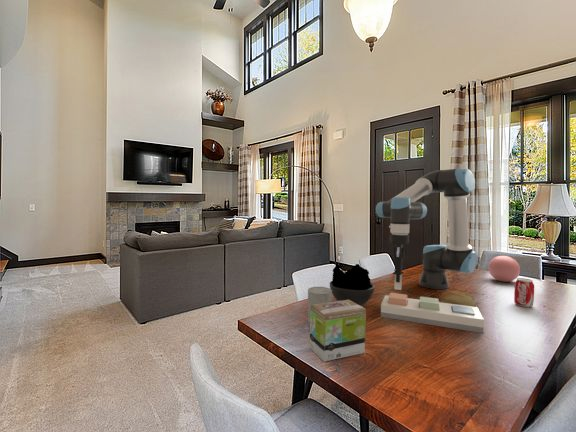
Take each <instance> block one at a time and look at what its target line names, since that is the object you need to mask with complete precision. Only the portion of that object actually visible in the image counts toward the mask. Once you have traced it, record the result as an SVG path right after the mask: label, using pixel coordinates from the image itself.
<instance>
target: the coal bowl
mask: <svg viewBox="0 0 576 432" xmlns="http://www.w3.org/2000/svg"><path fill="white" fill-rule="evenodd" d="M351 267H352V268H350V269H348V270H347V271H343V269H341V267H340V264H339V263H336V265H335V267H333V269H332V280H331V281H330V282H329V289H331V290H332V293H331V295H332V296H333V297H334V299H335V300H336V301H342V300H351V301H352V302H354V303H356V304H358V305H360V306H363V305H365V304H366V303H368V302H369V301H370V300H371V298H372V296H373V295H374V291H375V286H376V285H375V284H374V283H373V282H371V280H372V279H371V278H370V277H369V275H370V272H369V270H368V269H366V268H364V267H362V266H361V265H360V264H359V263H357V264H356V263H355V265H354V266H351Z"/></svg>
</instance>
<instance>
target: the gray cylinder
mask: <svg viewBox="0 0 576 432" xmlns="http://www.w3.org/2000/svg"><path fill="white" fill-rule="evenodd" d="M327 302H332V290H331V289H330V287H325V286H312V287H309V288H308V289H307V322H308V323H310V315H311V305H312V304H320V303H327Z"/></svg>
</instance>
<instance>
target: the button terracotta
mask: <svg viewBox="0 0 576 432" xmlns="http://www.w3.org/2000/svg"><path fill="white" fill-rule="evenodd" d="M388 296H389V298H388V303H389V304H396V305H403V306H407V298H408V294H406V293H405V294H404V293H396V292H389V295H388Z"/></svg>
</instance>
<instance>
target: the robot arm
mask: <svg viewBox="0 0 576 432" xmlns="http://www.w3.org/2000/svg"><path fill="white" fill-rule="evenodd" d="M475 184H476V181H475V177H474V174H473V172H472V171H471V170H470V169H469V168H452V169H439V170H437V169H436V170H434V171H431V172H429V173H427V174H425V175H423V176H421V177H419V178H418V179H416V181H415V182H414V184H412V185H411V186H409V187H407V188H406V189H404V190H403V191H402V192H400V193H399V194H397V195H396V196H394V197H392V198H390V199H388V201H380V202H378V203H377V204H376V205H375V213H376V215H377V217H379V218H384V219H386V218H387V219H390V225H389V226H388V228H389V229H390V232H389V233H390V235H389V243H390V244H395V246H393V252H394V253H393V258H394V272H392V274H393V275H394V282H393V283H394V286H393V287H394V288H393V289H394V290H398V291H402V282H403V281H402V279H403V274H404V271H403V259H404V252H405V247H403V245H408V244H409V243H410V235H409V234H410V220H420V219H421V220H422V219H423V218H425V217H426V216H427V213H428V208H427V206H426V204H425V203H423V202H420V201H418V200H419V199H421V198H422V197H424V196H429V195H430V194H433V193H443V198H446V199H447V213H448V216H447V217H448V232H449V233H448V235H449V244H448V245H446V244H431V245H429V244H428V245H424V246H423V250H422V272H421V274H420V277H419V280H418V285H419V286H421V287H424V288H427V289H434V290H447V289H448V288H449V287H450V286H449V284H450V282H449V280H448V276H447V273H446V271H452V272H456V273H457V272H458V273H461V274H471V273H472V272H474V271H475V269H476V267H477V263H478V259H479V255H478V253H477V252H476V251H473V246H472V245H471V244H470V242H469V220H468V198H469V197H470V195H471V192H473V191H474V189H475V186H476V185H475Z"/></svg>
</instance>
